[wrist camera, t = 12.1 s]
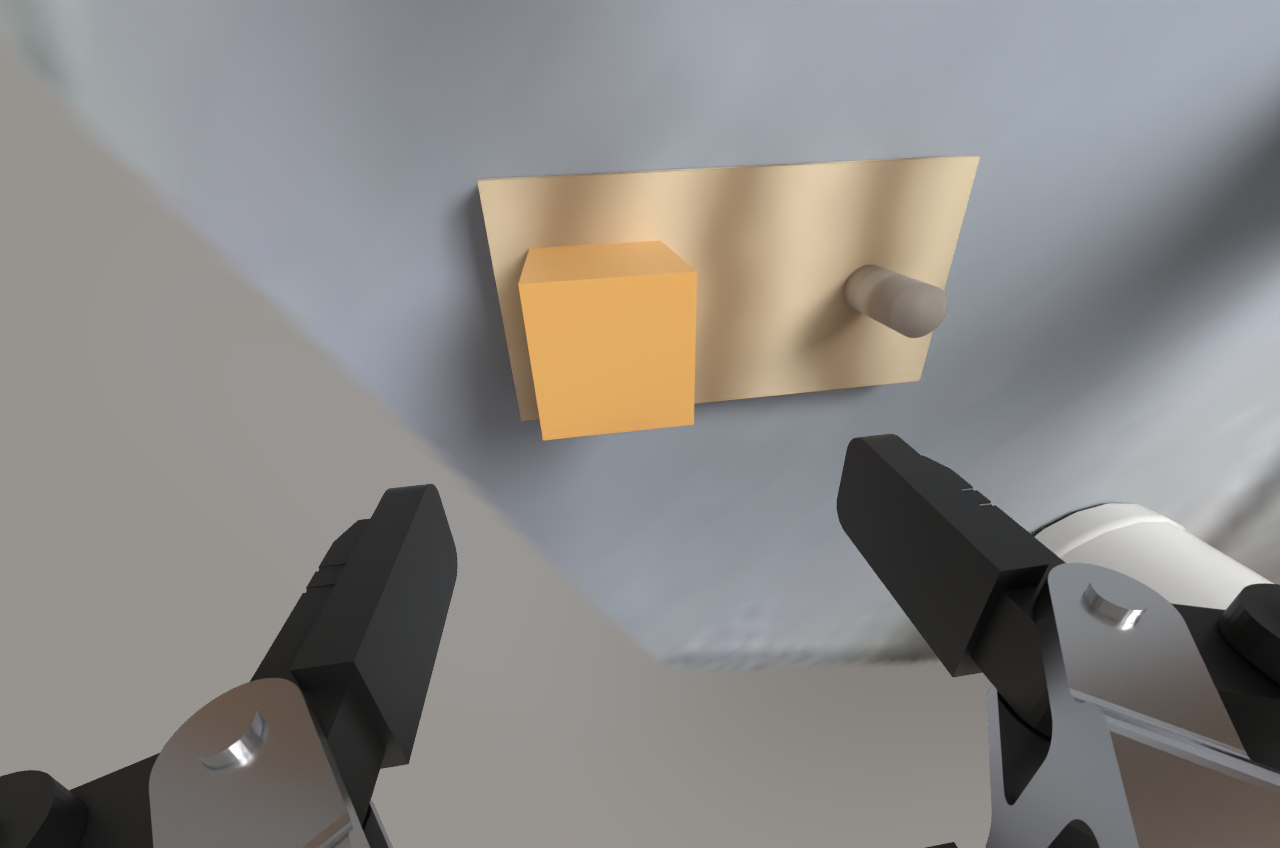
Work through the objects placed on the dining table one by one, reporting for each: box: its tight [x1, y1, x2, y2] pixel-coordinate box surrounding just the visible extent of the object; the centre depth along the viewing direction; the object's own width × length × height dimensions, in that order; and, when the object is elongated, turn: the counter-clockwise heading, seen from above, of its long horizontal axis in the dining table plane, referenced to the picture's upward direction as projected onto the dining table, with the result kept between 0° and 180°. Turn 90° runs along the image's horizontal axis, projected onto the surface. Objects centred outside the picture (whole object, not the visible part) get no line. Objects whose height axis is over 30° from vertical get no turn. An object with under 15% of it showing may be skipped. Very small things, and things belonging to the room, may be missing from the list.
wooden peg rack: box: [477, 156, 980, 421], centre depth 20 cm, size 20×10×6 cm, turn 92°
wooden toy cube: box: [518, 240, 697, 440], centre depth 18 cm, size 5×5×6 cm
